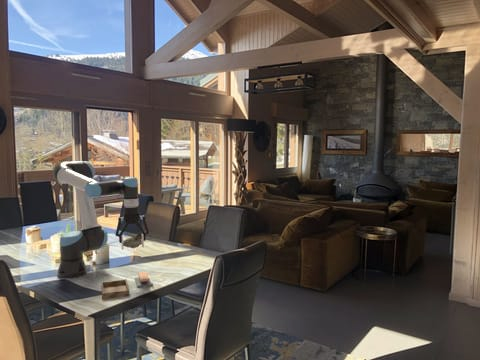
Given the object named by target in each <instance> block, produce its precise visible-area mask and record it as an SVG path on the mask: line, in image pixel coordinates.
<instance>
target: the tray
mask: <svg viewBox="0 0 480 360" xmlns="http://www.w3.org/2000/svg"><path fill="white" fill-rule="evenodd" d="M100 284H101V285H100V286H101V299H102V300H108V299H115V297H116V298H121V297H120V296H123V297H128V295H130V288H129V284H128V280H127V278H125V279H117V280H109V281H101V282H100Z"/></svg>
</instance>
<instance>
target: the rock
mask: <svg viewBox="0 0 480 360" xmlns="http://www.w3.org/2000/svg"><path fill="white" fill-rule="evenodd" d="M140 246H142V235H141V233H140V232H137V233H136V234H135V235H133V236H131V237H129V238H126V239H124V240H123V247H126V248H129V249H130V248H131V249H136V248H139V247H140Z"/></svg>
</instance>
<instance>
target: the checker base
mask: <svg viewBox="0 0 480 360" xmlns="http://www.w3.org/2000/svg"><path fill="white" fill-rule="evenodd" d="M148 277H149V281H142V282H141V281H140V278H139V277H134V281H135V286H136V288H137V289H139V287H140V288H146V287H147V286H148V287H154V283H153V280H152V278H151V276H150V274H148Z"/></svg>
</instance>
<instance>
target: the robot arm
mask: <svg viewBox="0 0 480 360" xmlns="http://www.w3.org/2000/svg"><path fill="white" fill-rule="evenodd" d="M52 177H53V178H54V179H55V181H56V182H58V183H61V184H65V185H67V184H68V185H69V186H71V187H74V189H75V196H76V199H77V205H78V209H79V215H80V220H81V225H82V226H81V229H80V230H73V231H72V230H71V231H68V232H65V233H63V234H62V235H61V236H60V237H59V249H60V250H59V251H60V253H59V254H60V263H59V266H58V269H57V277H59V278H63V279H72V278H78V277H82V276H83V275H85V274H86V273H87V272H88V270H87V266H86V263H85V260H84V253H88V252H93V251H97V250H100V249H104V248H105V246H106V245H107V244H108V240H109V238H108V232H107V229H105V228H102V225H101V224H100V223H99V222H98V217H97V212H96V208H95V202H94V198H101V197H107V196H108V197H109V196H115V195H122V196H123V206H124V208H123V213H124V214H123V216H122V217H120V216H119V217H118V219H117V220H118V223H117V226H116V230H115V233H114V234H115V237H118V242H119V244H121V250H124V246H123V241H124V236H123V234H124V232H125V231H126V229H127V227H128V225H137V227H138V228H139V230H140V231H141V233H142V234H141V233H140V234H141V235H142V239H141V241H142V244H141V247H142V248H145V246H144V245H145V242H146V240H147V238H146V235H147V234H150V233H149V232H150V231H149V229H148V225H147V222H146V216H145V215H140V209H139V208H140V207H139V205H140V203H139V182H138V178H137V177H135V176H134V177H133V176H131V177H130V176H129V177H123V178H122V180H120V179H114V180H113V179H112V180H110V181H108V180H107V181H97V180H95V179H94V178H95V168H94V166H93V165H92V163H90V162H89V161H86V160H84V161H83V160H77V161H76V160H75V161H62V162H59V163H57V164H56V165H55V166H54V167H53V169H52ZM139 220H141V221H142V224H143V227H144V229H143V227H142V226H141V223H140V222H139ZM123 221H124V225H123V227H122V229H121V225H122V222H123ZM120 229H121V231H120ZM144 230H145V231H144Z"/></svg>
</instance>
